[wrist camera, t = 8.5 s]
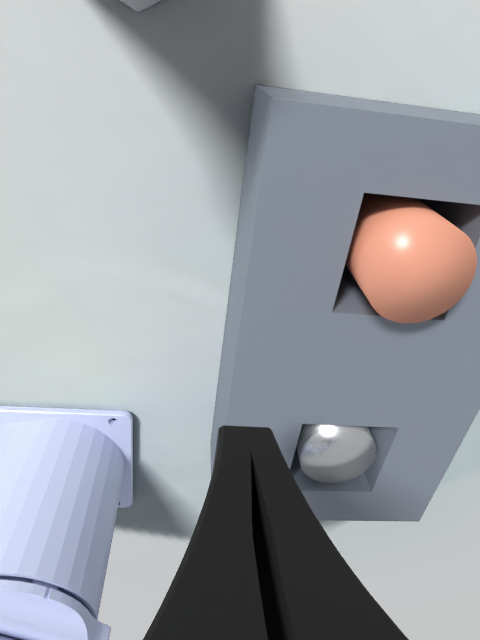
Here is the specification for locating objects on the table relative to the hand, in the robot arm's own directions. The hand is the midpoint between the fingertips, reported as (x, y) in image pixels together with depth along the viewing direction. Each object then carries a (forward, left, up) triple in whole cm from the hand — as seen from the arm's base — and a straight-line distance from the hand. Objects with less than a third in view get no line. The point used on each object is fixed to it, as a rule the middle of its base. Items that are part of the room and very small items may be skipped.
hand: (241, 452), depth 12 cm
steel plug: (+6, -6, -10) cm, 13 cm away
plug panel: (+6, -1, -10) cm, 12 cm away
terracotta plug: (+6, +4, -9) cm, 11 cm away
